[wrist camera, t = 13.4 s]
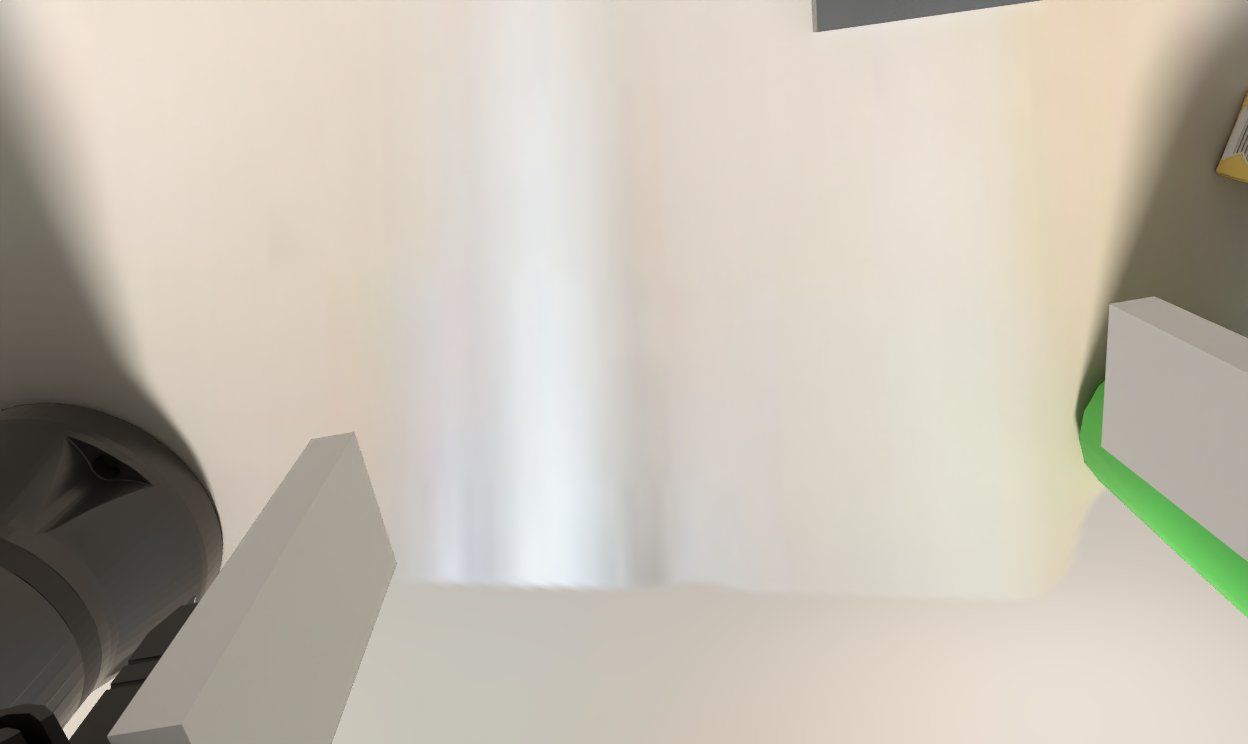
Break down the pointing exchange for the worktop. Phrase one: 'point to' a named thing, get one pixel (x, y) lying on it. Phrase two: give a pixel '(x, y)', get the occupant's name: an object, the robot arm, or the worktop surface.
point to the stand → (889, 10)
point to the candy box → (1237, 149)
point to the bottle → (1164, 513)
